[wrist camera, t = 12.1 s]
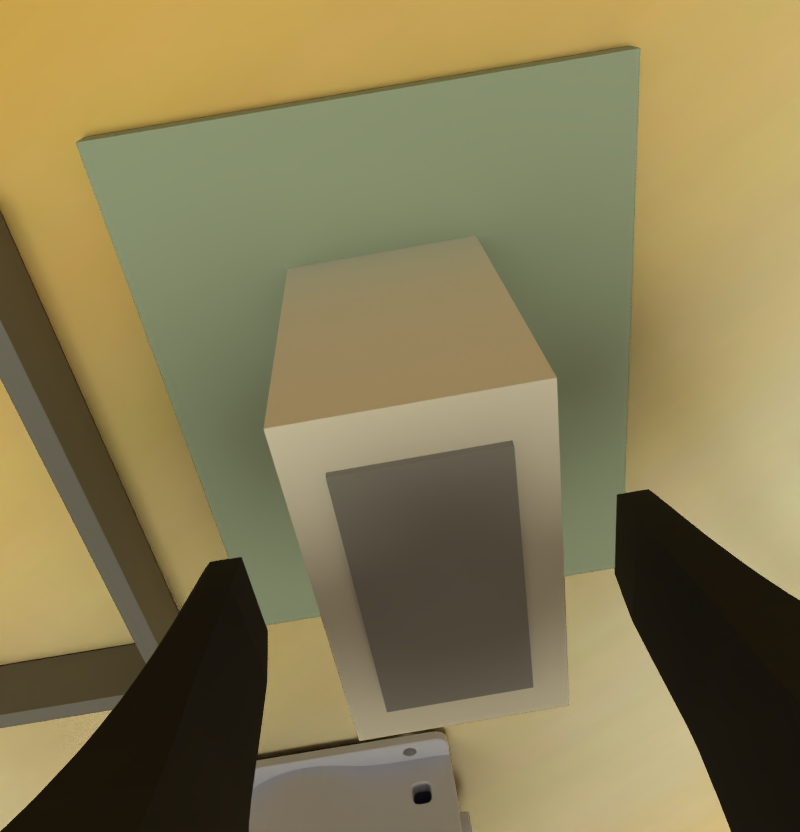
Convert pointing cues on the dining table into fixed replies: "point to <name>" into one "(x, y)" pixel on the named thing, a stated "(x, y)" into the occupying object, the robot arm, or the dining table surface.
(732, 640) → the robot arm
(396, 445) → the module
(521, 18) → the dining table surface
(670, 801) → the dining table surface
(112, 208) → the rubber mat
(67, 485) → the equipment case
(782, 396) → the dining table surface
